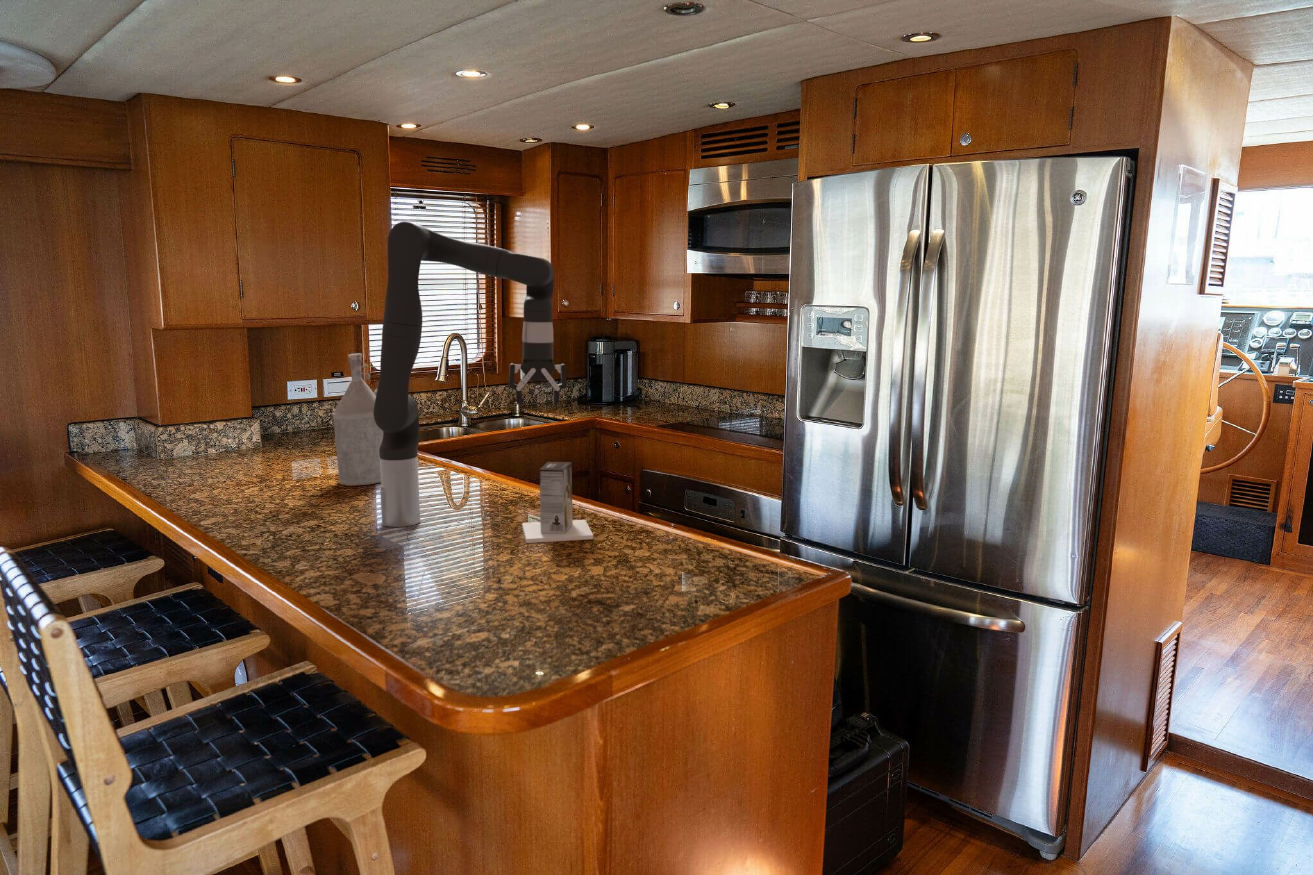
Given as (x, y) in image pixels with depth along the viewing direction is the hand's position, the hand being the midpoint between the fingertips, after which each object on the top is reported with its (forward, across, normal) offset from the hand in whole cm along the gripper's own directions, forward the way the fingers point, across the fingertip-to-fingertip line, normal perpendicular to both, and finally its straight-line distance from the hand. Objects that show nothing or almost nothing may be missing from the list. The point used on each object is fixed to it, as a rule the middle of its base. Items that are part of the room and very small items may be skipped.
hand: (537, 405), depth 214 cm
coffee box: (+30, +4, -8) cm, 31 cm away
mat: (+31, +4, -8) cm, 32 cm away
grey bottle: (+32, -49, +58) cm, 83 cm away
